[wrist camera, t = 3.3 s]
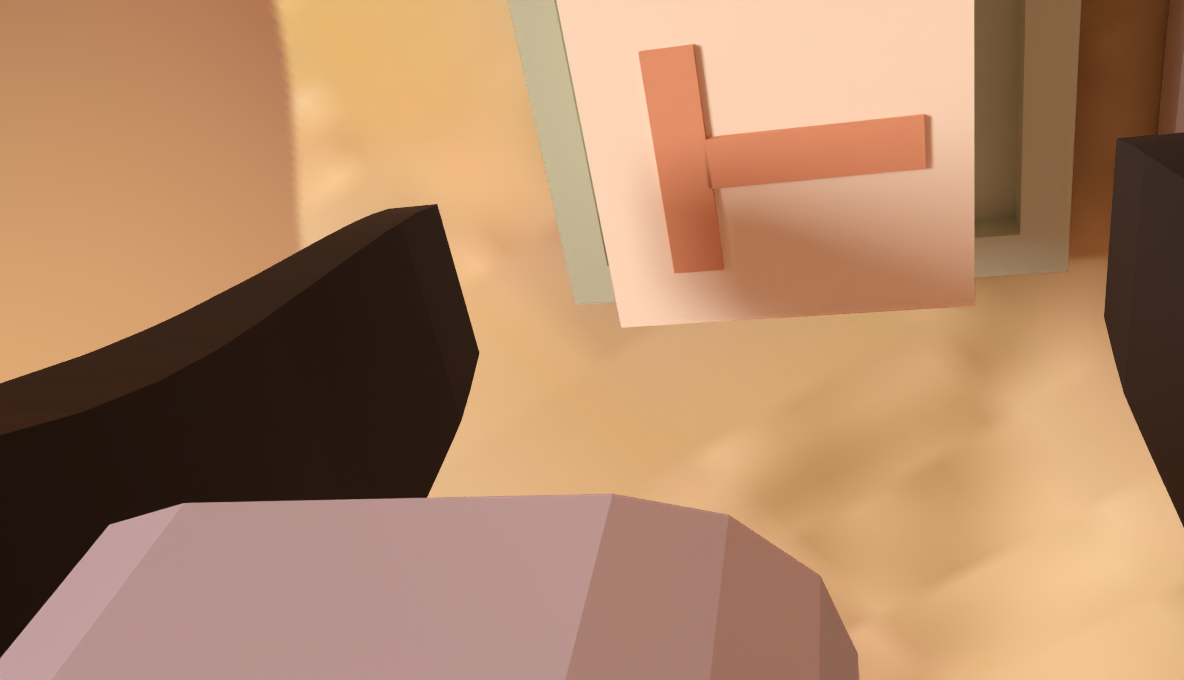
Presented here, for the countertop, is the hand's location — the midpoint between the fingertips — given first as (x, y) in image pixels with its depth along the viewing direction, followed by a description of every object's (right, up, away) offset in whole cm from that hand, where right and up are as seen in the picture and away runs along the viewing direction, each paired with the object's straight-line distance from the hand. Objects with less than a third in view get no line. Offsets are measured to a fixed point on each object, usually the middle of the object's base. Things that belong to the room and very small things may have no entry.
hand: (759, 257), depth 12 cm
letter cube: (+2, +4, +7) cm, 8 cm away
